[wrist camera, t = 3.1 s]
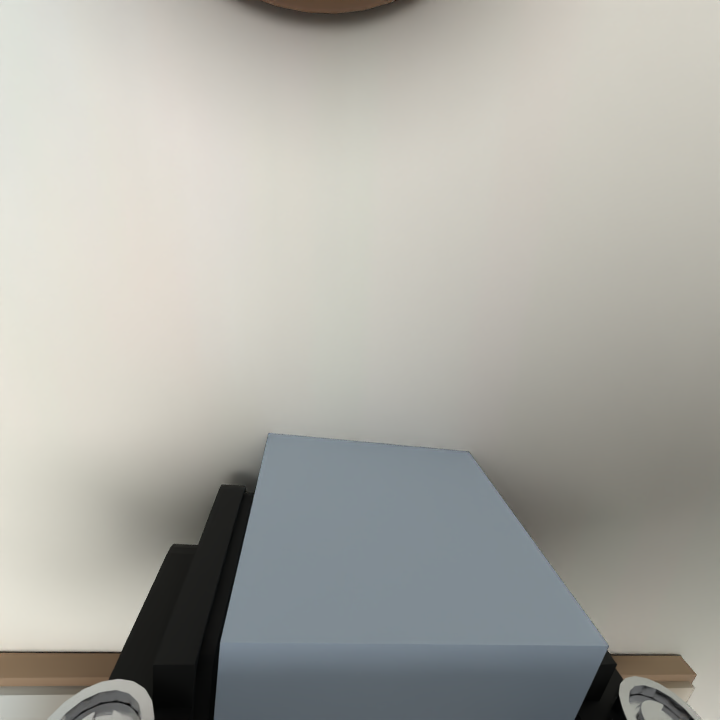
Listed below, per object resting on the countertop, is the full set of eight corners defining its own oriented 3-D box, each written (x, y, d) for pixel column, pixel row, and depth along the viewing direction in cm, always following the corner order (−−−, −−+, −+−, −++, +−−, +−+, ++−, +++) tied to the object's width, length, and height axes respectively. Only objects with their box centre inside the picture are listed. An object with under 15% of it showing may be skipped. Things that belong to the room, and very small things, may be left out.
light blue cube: (467, 449, 10) (609, 645, 5) (426, 600, 11) (507, 863, 7) (268, 431, 9) (220, 643, 4) (250, 595, 10) (199, 889, 6)
